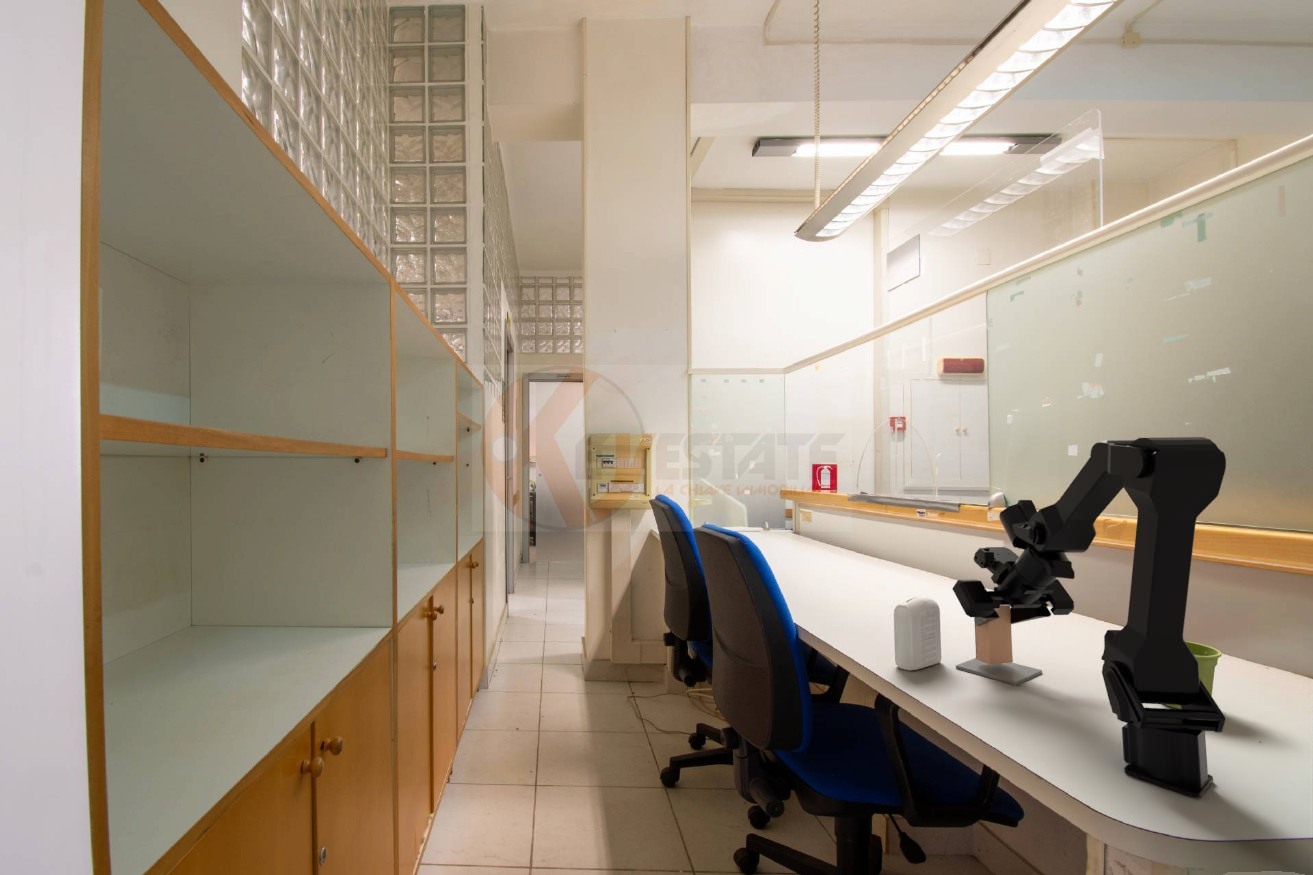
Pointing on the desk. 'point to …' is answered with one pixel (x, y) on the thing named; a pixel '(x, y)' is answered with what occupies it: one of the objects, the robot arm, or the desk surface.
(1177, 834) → the desk surface
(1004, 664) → the pad
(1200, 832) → the desk surface
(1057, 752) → the desk surface
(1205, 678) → the plant pot
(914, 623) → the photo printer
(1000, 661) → the tan rectangular block
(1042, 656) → the desk surface
